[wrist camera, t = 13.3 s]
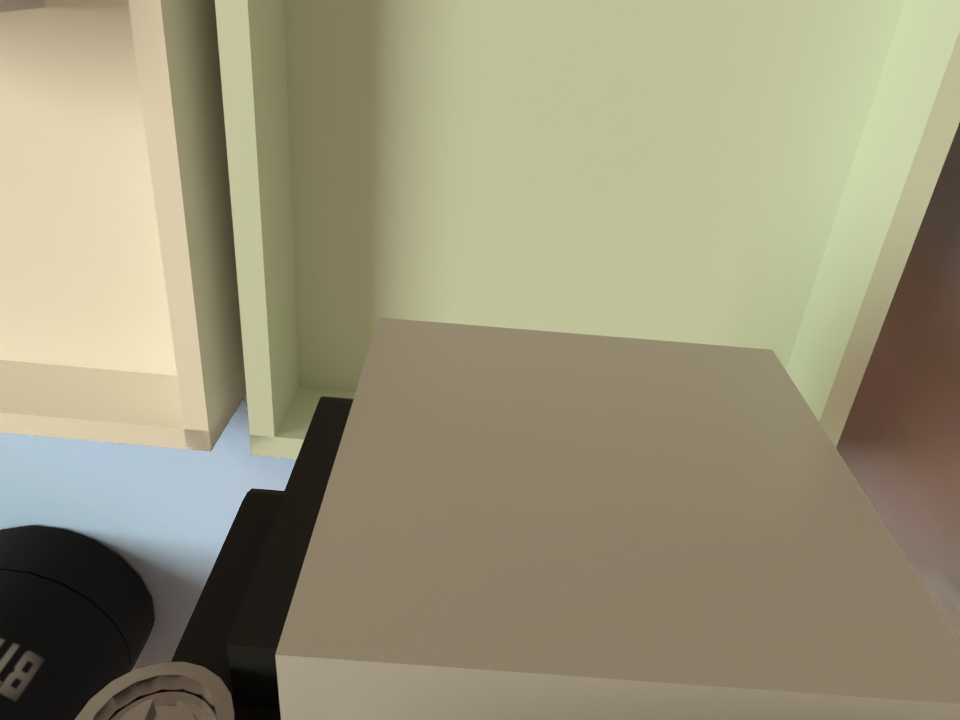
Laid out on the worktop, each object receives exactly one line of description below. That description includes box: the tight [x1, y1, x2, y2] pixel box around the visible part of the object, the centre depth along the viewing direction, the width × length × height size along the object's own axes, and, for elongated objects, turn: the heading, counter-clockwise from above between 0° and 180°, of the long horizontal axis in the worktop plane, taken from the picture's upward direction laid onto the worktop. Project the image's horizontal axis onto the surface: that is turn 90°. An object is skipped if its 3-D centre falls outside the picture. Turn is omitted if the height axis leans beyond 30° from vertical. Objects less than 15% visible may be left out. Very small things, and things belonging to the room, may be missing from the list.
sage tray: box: [215, 0, 960, 459], centre depth 16 cm, size 16×14×3 cm
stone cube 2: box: [275, 317, 960, 720], centre depth 8 cm, size 5×5×5 cm
